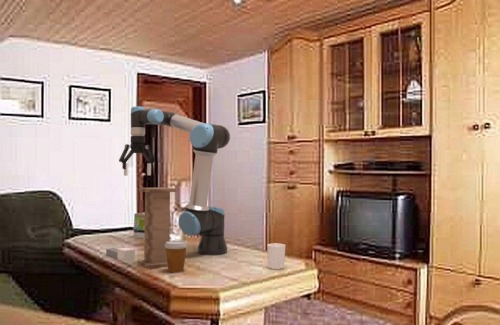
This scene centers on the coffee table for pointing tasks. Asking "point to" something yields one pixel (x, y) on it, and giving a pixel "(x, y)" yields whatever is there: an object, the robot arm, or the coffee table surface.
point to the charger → (121, 254)
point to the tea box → (139, 225)
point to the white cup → (276, 255)
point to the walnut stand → (156, 226)
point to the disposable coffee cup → (175, 255)
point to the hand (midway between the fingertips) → (137, 175)
